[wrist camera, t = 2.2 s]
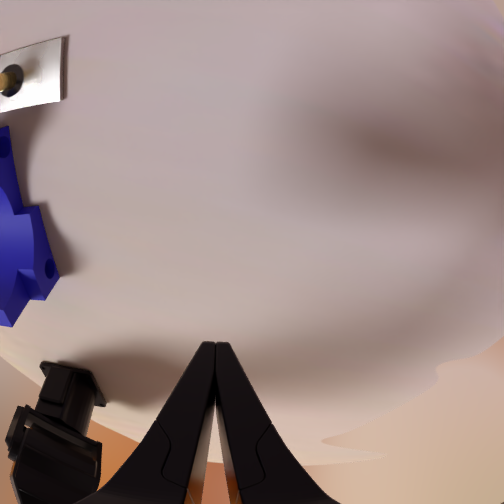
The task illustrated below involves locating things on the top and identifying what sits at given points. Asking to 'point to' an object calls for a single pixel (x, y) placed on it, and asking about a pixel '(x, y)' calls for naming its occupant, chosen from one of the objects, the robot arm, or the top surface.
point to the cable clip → (20, 244)
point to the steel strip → (32, 75)
